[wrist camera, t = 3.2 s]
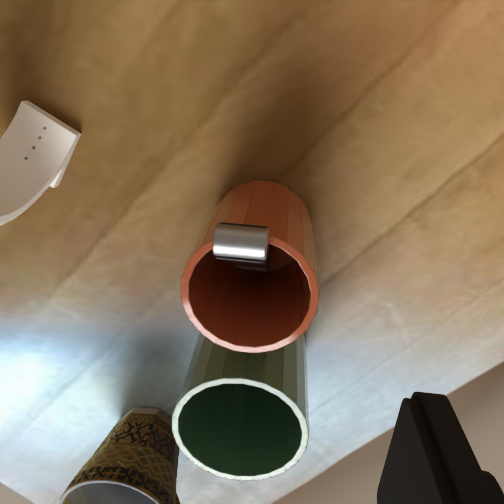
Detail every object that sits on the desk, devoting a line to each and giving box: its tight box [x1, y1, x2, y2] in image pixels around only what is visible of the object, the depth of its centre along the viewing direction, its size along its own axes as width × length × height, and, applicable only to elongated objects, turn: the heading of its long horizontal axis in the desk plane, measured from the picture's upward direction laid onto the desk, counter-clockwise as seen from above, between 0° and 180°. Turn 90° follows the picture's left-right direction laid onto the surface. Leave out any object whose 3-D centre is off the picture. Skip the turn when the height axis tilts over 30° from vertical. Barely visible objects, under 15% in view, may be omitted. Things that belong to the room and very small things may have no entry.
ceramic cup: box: [59, 407, 180, 504], centre depth 42 cm, size 13×10×10 cm
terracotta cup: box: [181, 181, 319, 353], centre depth 31 cm, size 8×8×11 cm
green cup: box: [172, 333, 309, 480], centre depth 35 cm, size 10×10×11 cm
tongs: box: [213, 222, 271, 273], centre depth 26 cm, size 2×10×18 cm, turn 177°
